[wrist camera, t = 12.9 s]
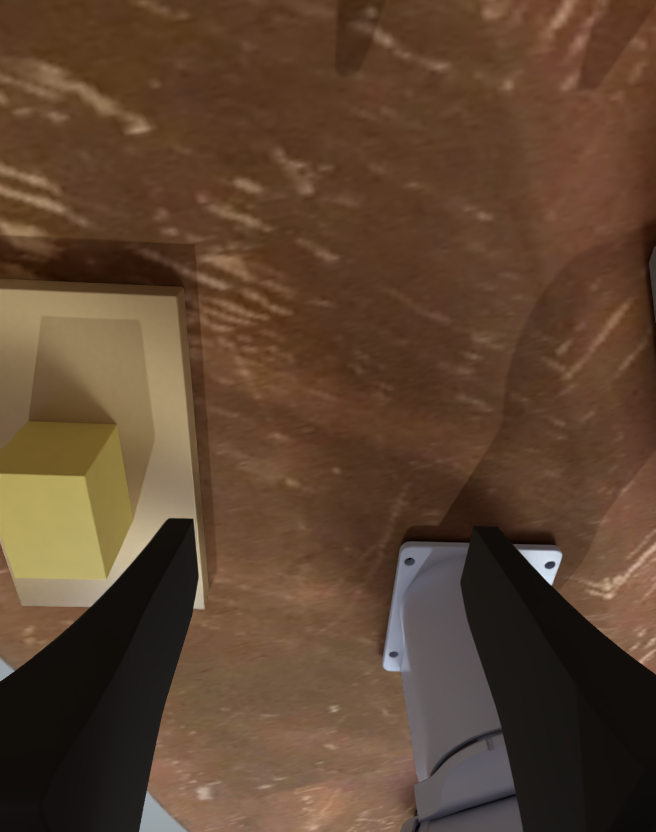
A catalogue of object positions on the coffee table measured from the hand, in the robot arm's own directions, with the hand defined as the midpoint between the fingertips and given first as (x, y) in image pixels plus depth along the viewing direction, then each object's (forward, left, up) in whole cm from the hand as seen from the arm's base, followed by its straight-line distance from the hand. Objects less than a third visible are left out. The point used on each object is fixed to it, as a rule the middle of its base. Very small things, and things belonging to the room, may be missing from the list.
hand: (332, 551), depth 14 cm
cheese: (-4, +10, -8) cm, 13 cm away
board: (-4, +10, -9) cm, 14 cm away
